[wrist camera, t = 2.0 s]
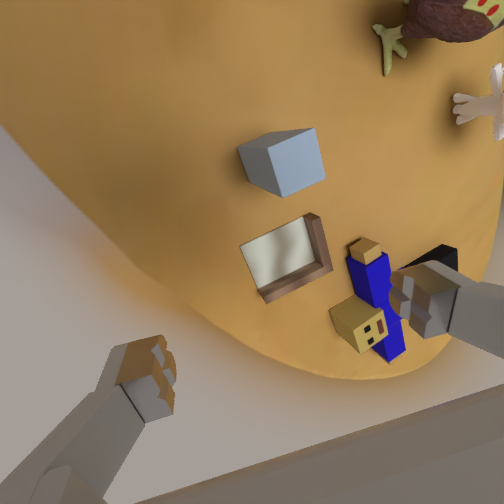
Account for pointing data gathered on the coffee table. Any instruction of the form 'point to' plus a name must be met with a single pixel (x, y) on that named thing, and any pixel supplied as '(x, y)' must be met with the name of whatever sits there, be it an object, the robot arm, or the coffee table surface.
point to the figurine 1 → (442, 23)
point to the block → (283, 161)
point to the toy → (377, 300)
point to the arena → (288, 257)
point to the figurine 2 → (484, 104)
